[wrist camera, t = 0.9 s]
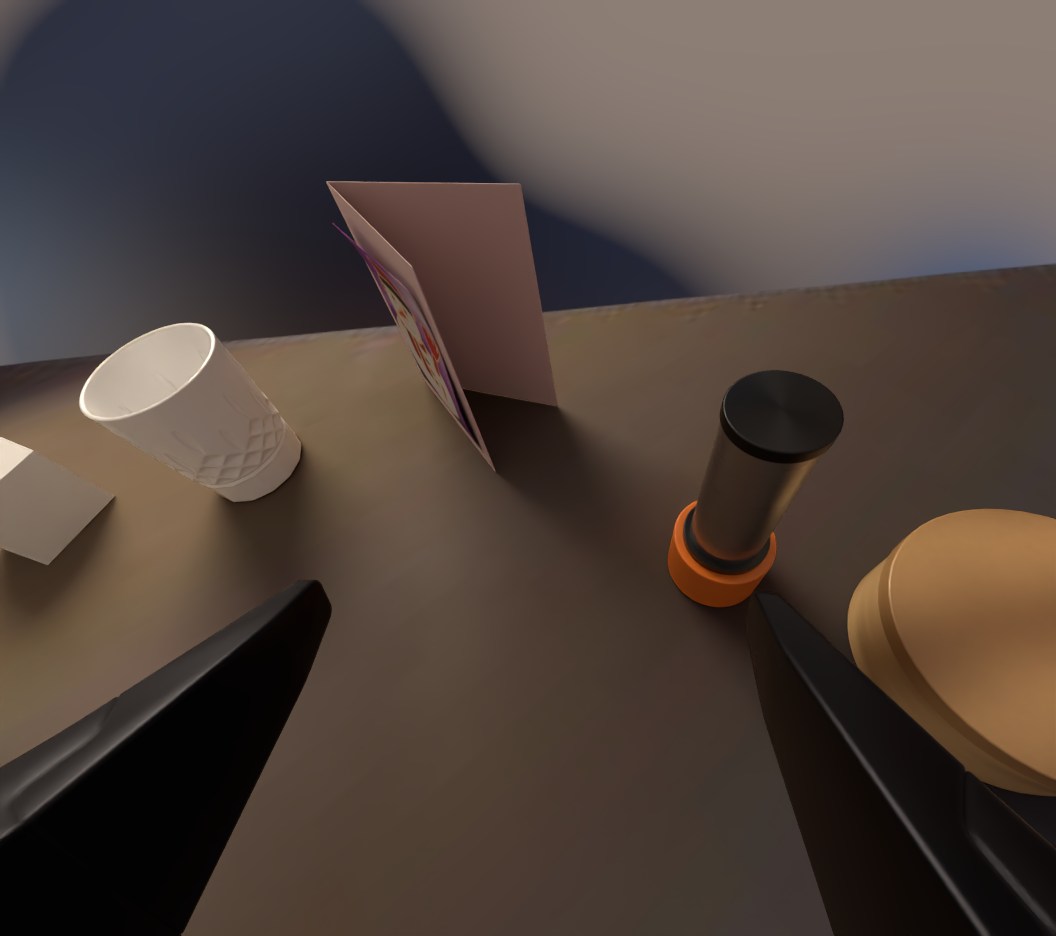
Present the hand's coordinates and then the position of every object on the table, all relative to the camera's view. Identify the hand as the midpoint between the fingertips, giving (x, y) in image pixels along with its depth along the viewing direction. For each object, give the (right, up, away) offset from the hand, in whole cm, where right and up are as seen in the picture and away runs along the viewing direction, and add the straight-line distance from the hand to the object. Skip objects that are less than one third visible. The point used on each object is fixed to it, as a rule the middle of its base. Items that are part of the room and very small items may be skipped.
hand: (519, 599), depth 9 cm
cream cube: (-35, -1, +25) cm, 44 cm away
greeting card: (-3, +7, +25) cm, 26 cm away
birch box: (+20, -6, +11) cm, 24 cm away
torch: (+10, -3, +15) cm, 18 cm away
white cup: (-20, +3, +25) cm, 32 cm away
